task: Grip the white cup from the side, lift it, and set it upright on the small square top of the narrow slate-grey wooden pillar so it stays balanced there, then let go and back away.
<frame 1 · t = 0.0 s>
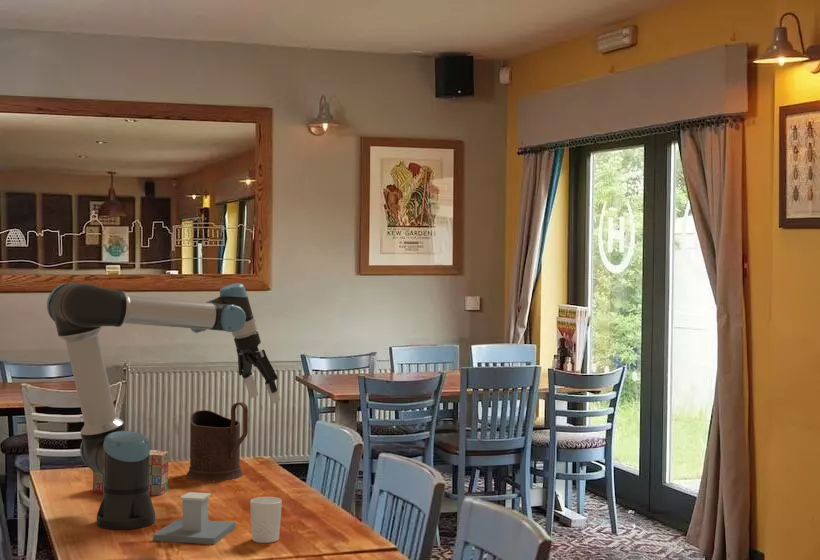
hand: (264, 399, 314), 28 cm above the table, tool tilted 20°, fingers open, 13 cm apart
narrow pillar: (195, 534, 264), on the table
cup holder: (220, 477, 333), on the table
white cup: (265, 540, 260), on the table
stack of blocks: (130, 492, 311), on the table
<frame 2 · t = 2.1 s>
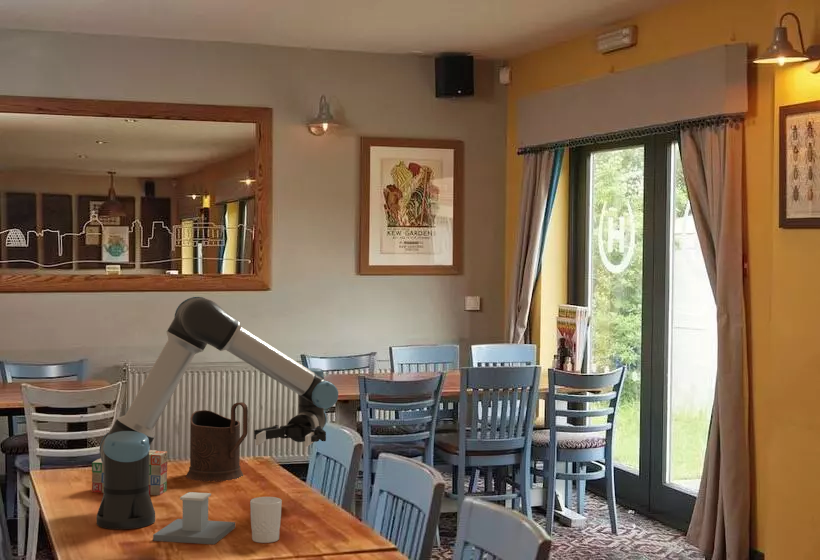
hand: (281, 440, 275), 22 cm above the table, tool horizontal, fingers open, 13 cm apart
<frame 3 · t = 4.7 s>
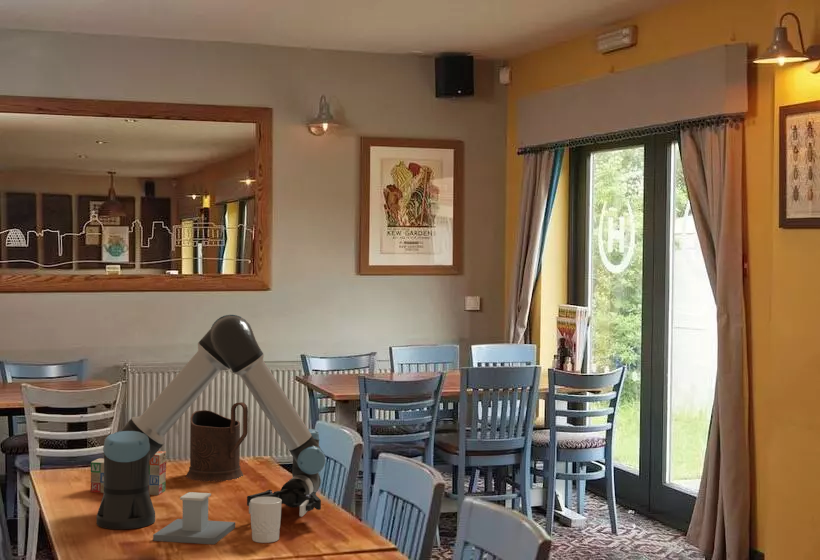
hand: (275, 509, 267), 6 cm above the table, tool horizontal, fingers open, 13 cm apart
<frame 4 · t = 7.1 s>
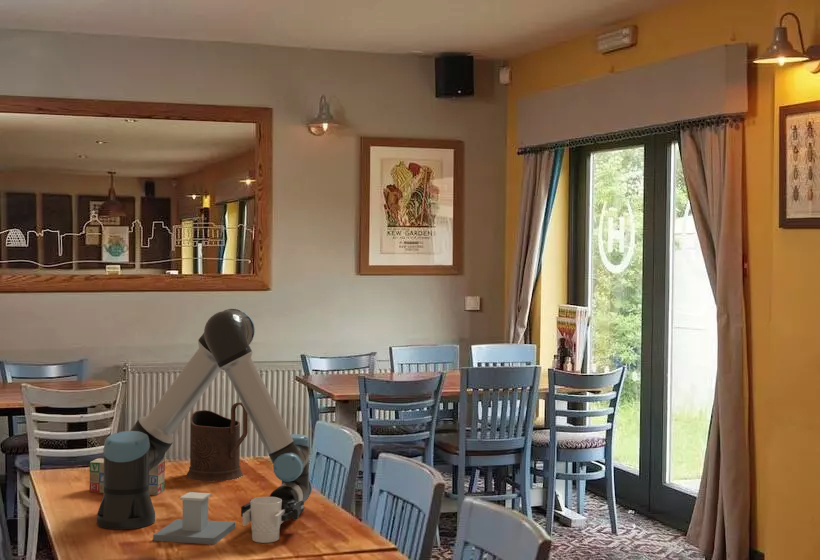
hand: (260, 520, 256), 6 cm above the table, tool horizontal, fingers closed on white cup, 8 cm apart
white cup: (265, 540, 260), on the table, touching gripper
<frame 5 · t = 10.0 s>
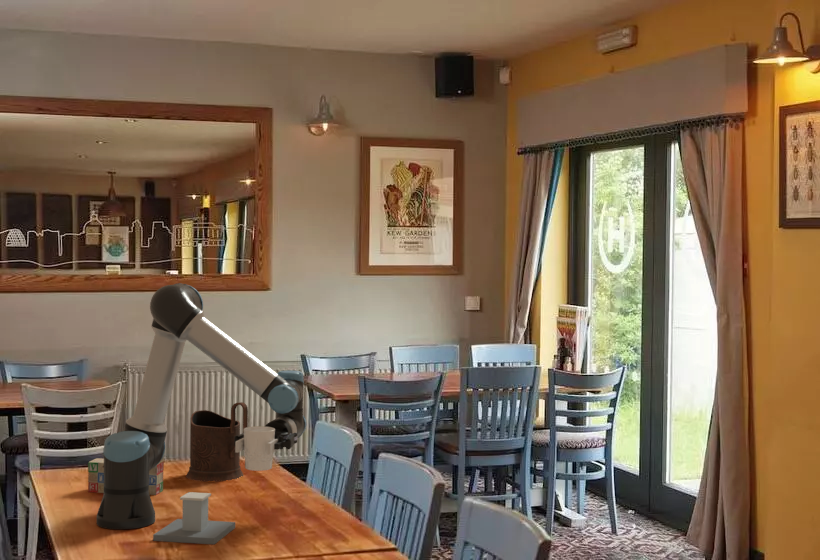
hand: (252, 447, 256), 24 cm above the table, tool horizontal, fingers closed on white cup, 8 cm apart
white cup: (258, 469, 261), point 18 cm above the table, touching gripper
when the fingers open (17 cm above the table, at t = 12.9 s): white cup drops 1 cm, resting on narrow pillar.
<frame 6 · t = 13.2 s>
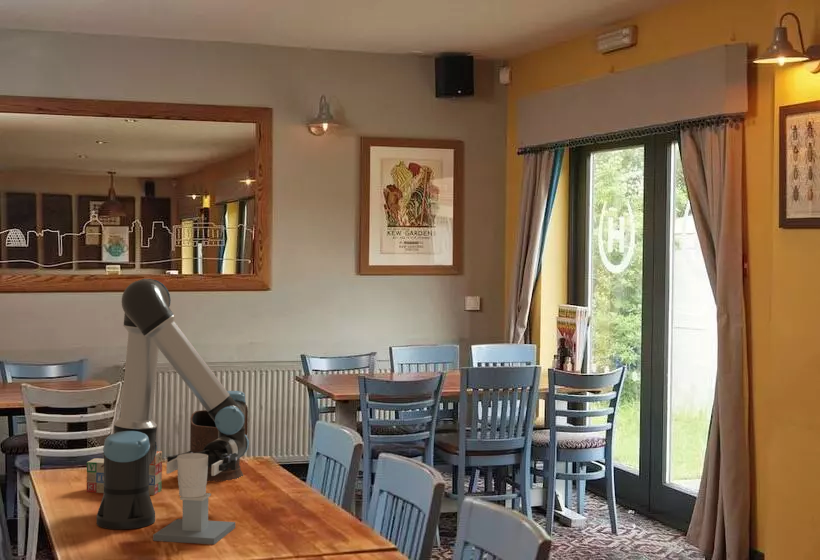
hand: (190, 469, 260), 17 cm above the table, tool horizontal, fingers open, 11 cm apart
white cup: (192, 495, 265), point 10 cm above the table, touching narrow pillar
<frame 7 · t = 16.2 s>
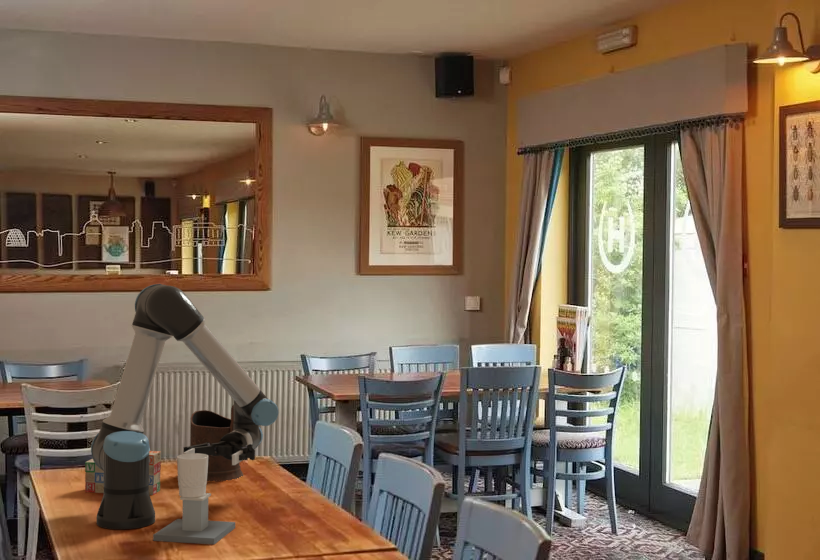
hand: (208, 459, 273), 18 cm above the table, tool horizontal, fingers open, 13 cm apart
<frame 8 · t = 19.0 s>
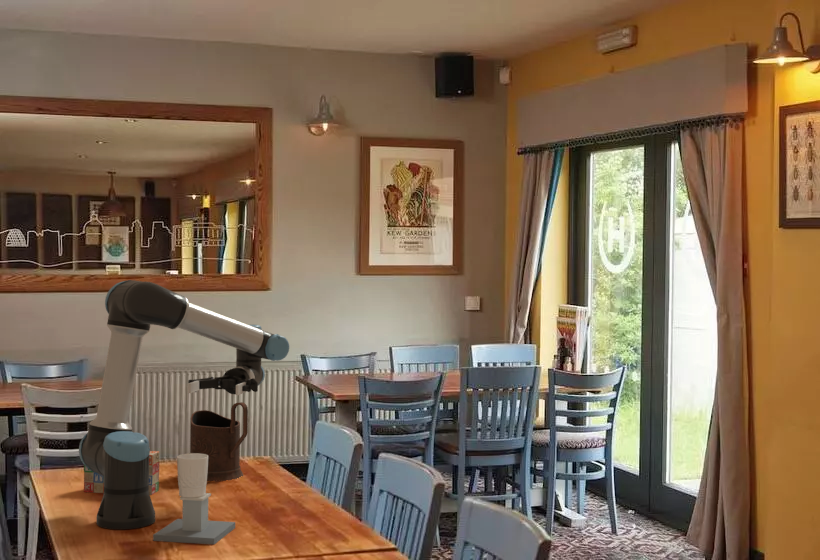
hand: (213, 389, 281), 35 cm above the table, tool horizontal, fingers open, 13 cm apart
at the end: white cup 1.0 cm off-centre on the narrow pillar, point 9.8 cm above the narrow pillar's base; white cup tilted 0°; the gripper is holding nothing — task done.
